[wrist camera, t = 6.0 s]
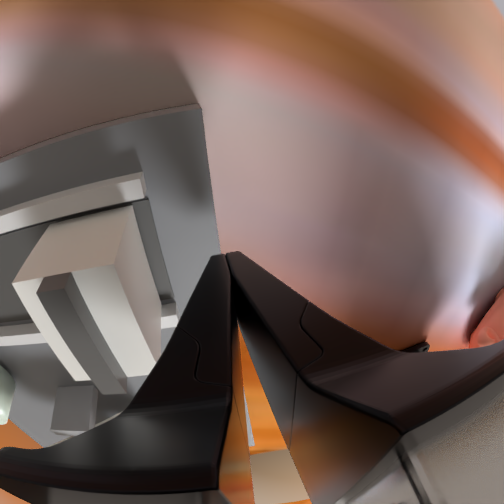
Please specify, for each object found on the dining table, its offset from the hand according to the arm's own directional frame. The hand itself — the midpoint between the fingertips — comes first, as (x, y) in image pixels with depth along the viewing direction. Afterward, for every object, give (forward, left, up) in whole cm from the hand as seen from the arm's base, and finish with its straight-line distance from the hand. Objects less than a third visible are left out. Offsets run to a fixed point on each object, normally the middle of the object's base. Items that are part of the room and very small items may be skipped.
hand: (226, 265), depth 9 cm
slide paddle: (+4, 0, -1) cm, 4 cm away
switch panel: (+9, +7, -4) cm, 12 cm away
